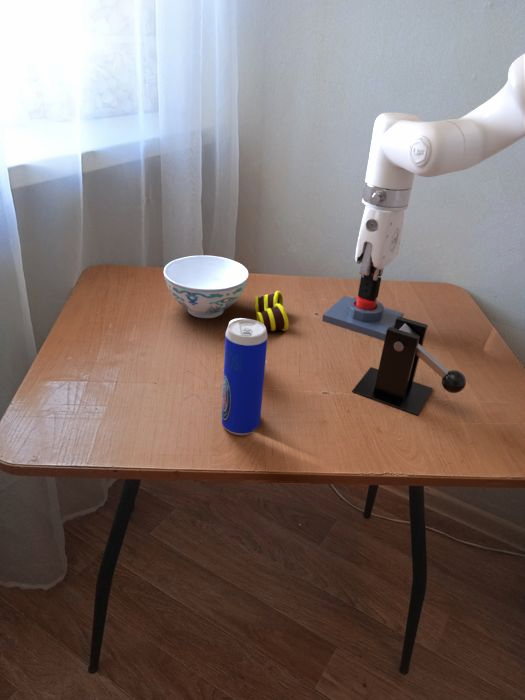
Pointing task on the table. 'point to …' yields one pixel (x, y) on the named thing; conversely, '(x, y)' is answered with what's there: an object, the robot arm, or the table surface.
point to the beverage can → (243, 375)
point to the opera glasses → (271, 312)
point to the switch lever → (440, 368)
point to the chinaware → (205, 283)
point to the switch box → (361, 317)
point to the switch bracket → (397, 370)
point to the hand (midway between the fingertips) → (367, 297)
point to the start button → (365, 303)
